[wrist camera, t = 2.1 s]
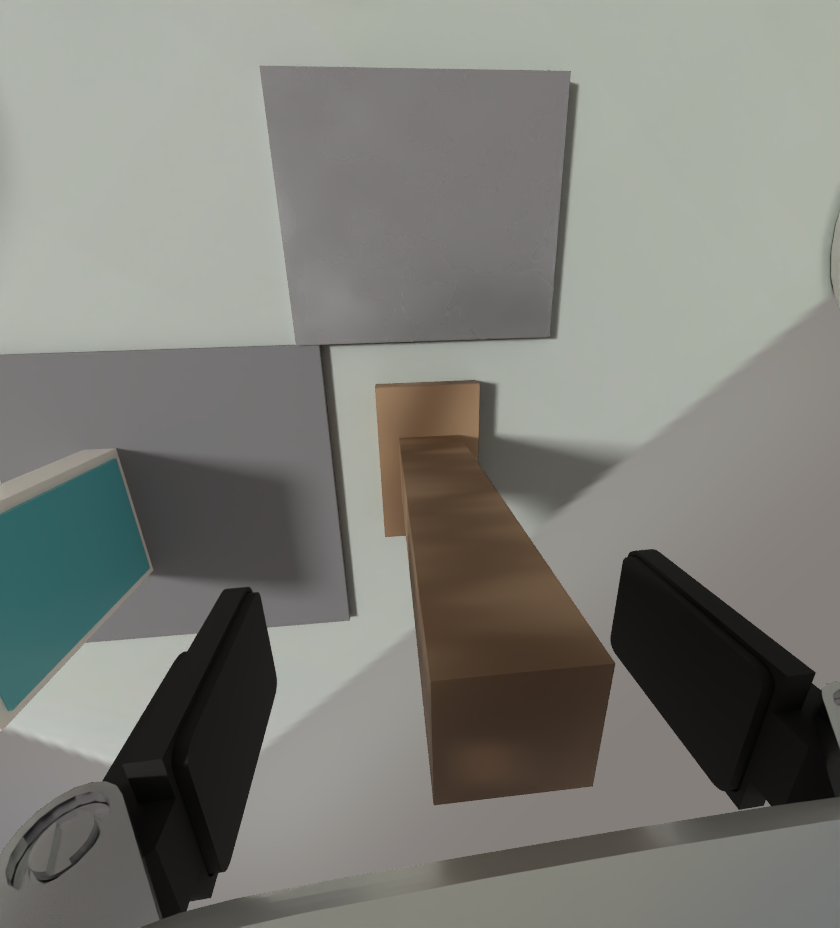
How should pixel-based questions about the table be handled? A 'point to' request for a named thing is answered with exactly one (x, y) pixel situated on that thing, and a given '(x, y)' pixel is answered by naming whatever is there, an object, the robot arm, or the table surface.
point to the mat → (197, 472)
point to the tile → (62, 566)
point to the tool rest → (417, 200)
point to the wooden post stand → (485, 612)
